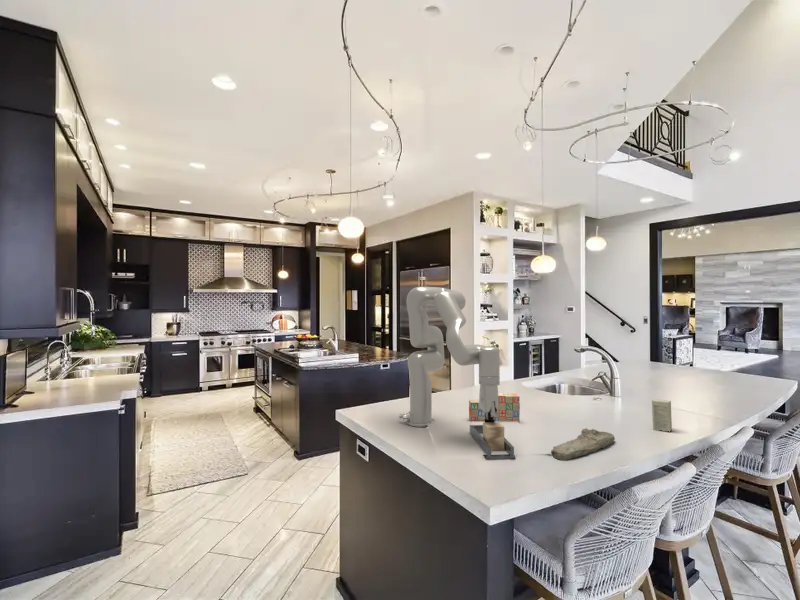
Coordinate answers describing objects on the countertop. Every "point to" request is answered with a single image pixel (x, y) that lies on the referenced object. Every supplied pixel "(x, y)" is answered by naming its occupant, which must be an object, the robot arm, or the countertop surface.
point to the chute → (475, 432)
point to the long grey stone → (583, 444)
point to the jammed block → (494, 435)
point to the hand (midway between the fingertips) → (489, 429)
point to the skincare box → (661, 415)
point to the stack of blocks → (506, 409)
